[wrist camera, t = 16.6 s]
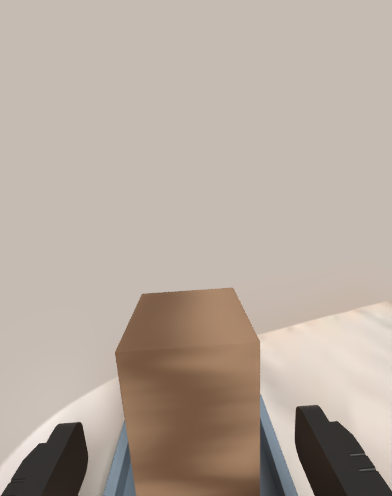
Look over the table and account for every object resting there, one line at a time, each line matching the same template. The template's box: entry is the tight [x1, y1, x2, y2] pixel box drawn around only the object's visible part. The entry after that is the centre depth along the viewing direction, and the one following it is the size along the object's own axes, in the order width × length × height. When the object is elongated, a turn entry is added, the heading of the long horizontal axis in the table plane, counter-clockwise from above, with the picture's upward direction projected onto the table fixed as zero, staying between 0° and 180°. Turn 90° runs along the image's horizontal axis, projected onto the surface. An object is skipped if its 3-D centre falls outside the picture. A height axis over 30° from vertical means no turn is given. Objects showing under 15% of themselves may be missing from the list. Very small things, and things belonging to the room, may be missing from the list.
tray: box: [103, 395, 298, 496], centre depth 13 cm, size 10×10×2 cm
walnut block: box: [115, 288, 260, 496], centre depth 12 cm, size 5×5×11 cm
